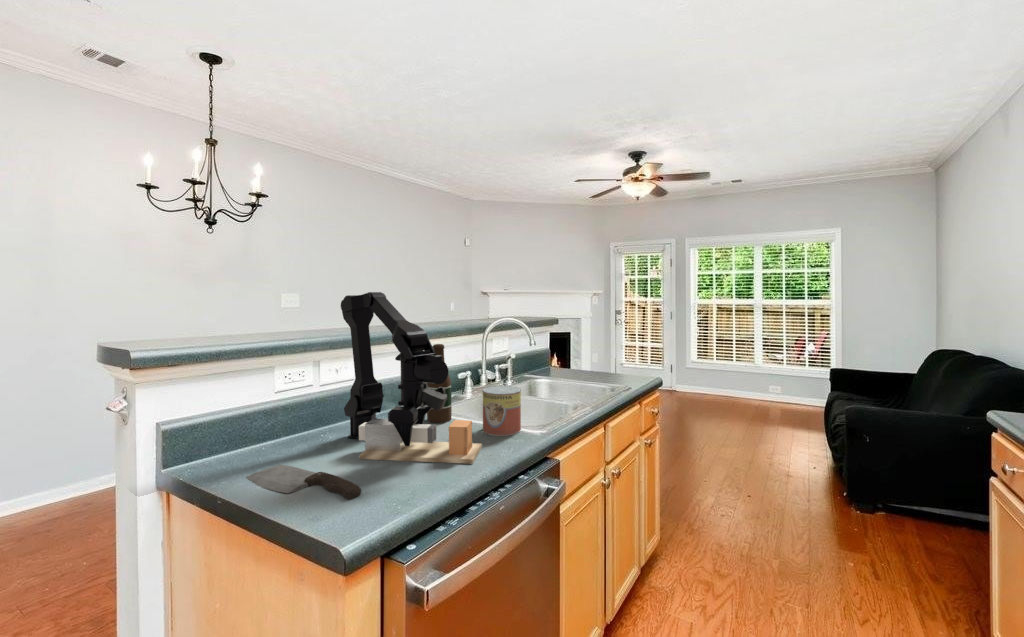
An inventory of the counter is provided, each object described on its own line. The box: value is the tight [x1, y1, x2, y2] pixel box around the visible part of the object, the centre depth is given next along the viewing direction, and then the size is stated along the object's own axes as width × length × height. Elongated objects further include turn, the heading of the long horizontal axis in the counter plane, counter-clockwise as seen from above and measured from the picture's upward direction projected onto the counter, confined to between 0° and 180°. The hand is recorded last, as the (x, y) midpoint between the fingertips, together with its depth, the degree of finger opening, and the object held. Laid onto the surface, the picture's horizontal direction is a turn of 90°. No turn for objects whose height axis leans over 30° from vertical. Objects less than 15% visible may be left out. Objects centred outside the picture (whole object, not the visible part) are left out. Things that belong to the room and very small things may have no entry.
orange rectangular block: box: [448, 419, 473, 455], centre depth 120 cm, size 4×6×7 cm
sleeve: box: [364, 418, 405, 452], centre depth 122 cm, size 9×5×7 cm, turn 83°
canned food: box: [482, 385, 522, 437], centre depth 140 cm, size 11×11×12 cm
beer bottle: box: [426, 343, 453, 424], centre depth 151 cm, size 8×8×24 cm
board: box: [359, 441, 483, 465], centre depth 121 cm, size 28×12×1 cm, turn 83°
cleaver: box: [245, 464, 362, 500], centre depth 101 cm, size 29×10×2 cm, turn 61°
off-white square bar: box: [358, 422, 437, 443], centre depth 121 cm, size 19×4×4 cm, turn 83°
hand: (413, 440), depth 121 cm, fingers open, 8 cm apart
